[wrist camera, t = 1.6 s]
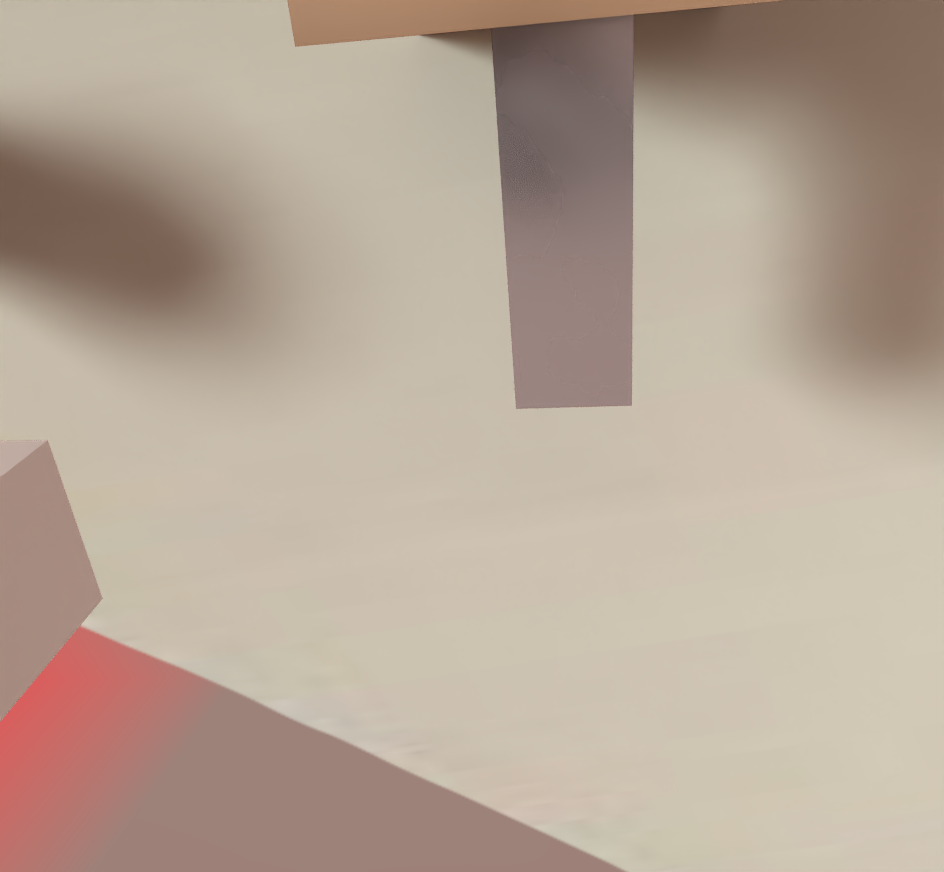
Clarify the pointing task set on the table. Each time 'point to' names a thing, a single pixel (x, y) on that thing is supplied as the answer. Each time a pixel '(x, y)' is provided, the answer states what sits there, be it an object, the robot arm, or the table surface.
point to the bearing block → (457, 15)
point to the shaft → (568, 207)
